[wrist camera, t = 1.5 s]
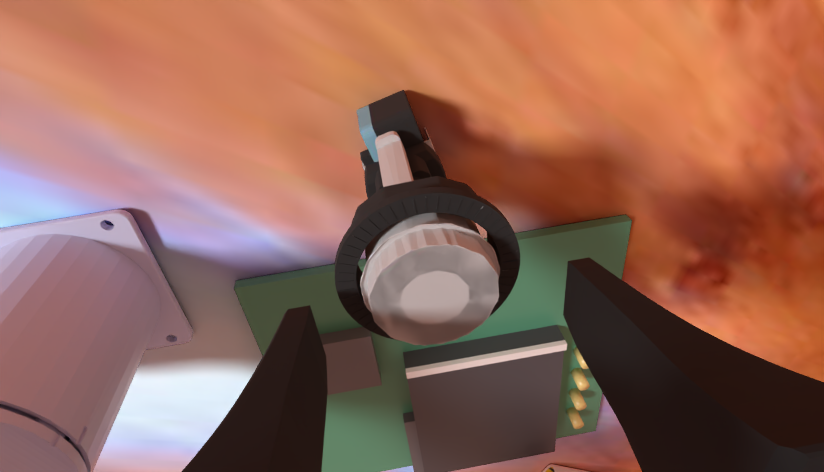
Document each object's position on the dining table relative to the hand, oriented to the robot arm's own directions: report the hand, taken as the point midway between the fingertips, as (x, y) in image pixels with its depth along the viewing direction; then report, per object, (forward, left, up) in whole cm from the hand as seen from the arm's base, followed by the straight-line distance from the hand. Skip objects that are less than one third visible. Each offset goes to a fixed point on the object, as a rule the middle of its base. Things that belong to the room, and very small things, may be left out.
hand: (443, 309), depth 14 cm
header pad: (+3, -17, -9) cm, 20 cm away
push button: (0, 0, -10) cm, 10 cm away
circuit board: (+1, -14, -10) cm, 17 cm away
